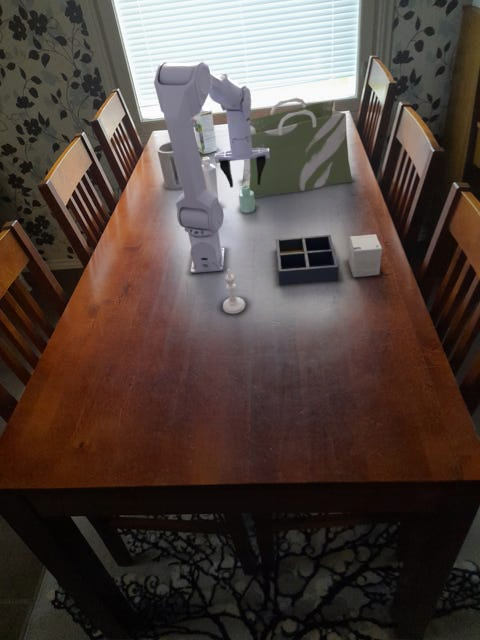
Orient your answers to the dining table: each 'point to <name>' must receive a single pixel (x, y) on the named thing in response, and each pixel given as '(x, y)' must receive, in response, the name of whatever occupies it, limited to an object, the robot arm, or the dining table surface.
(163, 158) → the cup
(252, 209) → the bottle
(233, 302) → the chess piece
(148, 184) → the dining table surface
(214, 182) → the perfume bottle
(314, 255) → the divided tray
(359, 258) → the white cardboard box
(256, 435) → the dining table surface
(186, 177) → the robot arm
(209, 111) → the syrup box
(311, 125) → the grocery bag
